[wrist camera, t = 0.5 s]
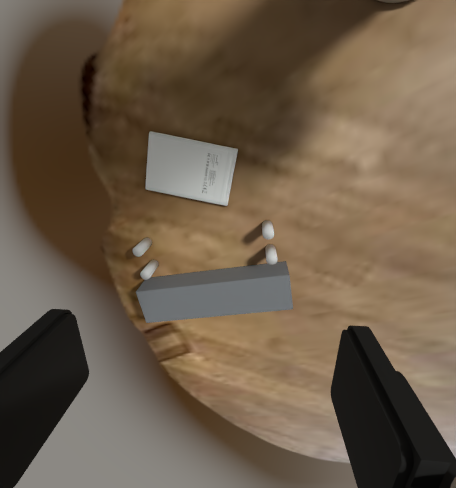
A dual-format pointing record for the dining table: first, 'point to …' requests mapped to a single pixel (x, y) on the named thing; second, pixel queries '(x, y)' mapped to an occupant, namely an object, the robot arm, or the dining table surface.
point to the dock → (215, 288)
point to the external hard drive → (190, 168)
